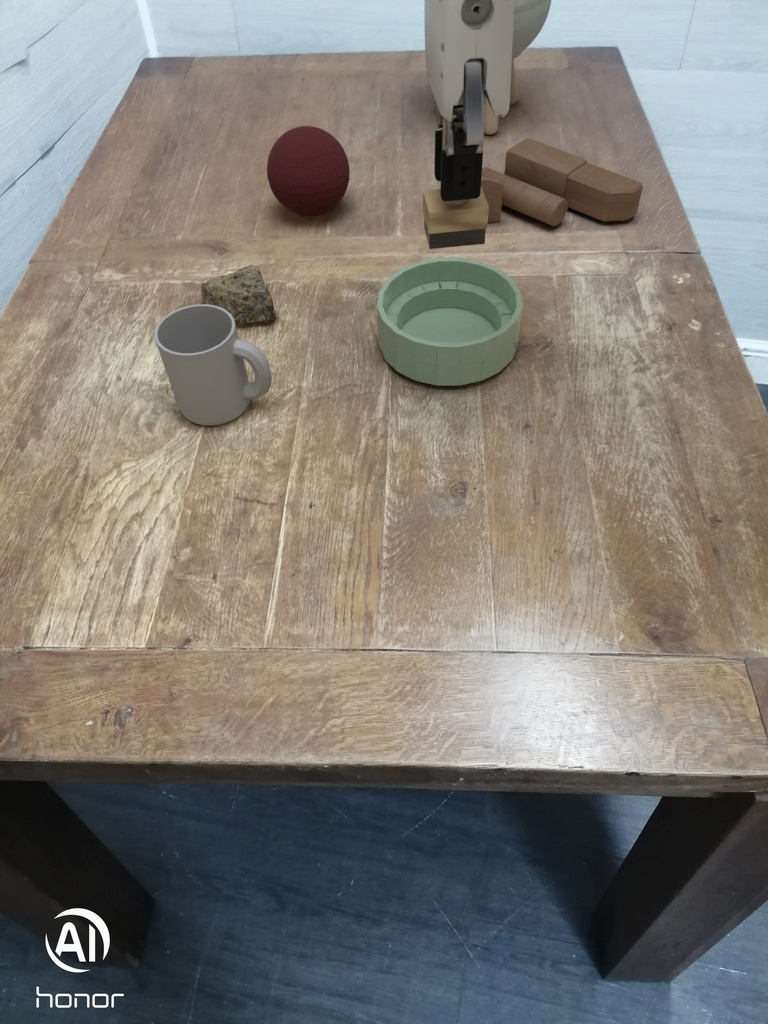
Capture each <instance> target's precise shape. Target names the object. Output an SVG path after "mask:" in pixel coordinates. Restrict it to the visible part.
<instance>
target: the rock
mask: <svg viewBox="0 0 768 1024" xmlns="http://www.w3.org/2000/svg"><path fill="white" fill-rule="evenodd" d="M259 268H260V267H259V266H257V265H252V264H250V265H247V266H245V267H243V268H239V269H237V270H235V271H233V272H231V273H228V274H224V275H220V276H218V277H214V278H209V279H208V280H207V281H205V282H201V284H200V290H201V291H200V294H201V297H202V302H203V304H209V305H214V306H218V307H221V308H223V309H225V310H227V311H228V312H229V313H230V314H231V315H232V317H233V318H234V320H235V323H237V324H251V323H252V324H258V323H262V322H264V323H265V324H271V322H272V321H274V320H276V319H277V315H276V313H275V306H274V301H273V297H272V295H271V292H270V291H269V289H268V286H267V285H266V284H265V281H264V278H263V275H262V272H261V271H260V269H259Z"/></svg>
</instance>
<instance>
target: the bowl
mask: <svg viewBox="0 0 768 1024" xmlns="http://www.w3.org/2000/svg"><path fill="white" fill-rule="evenodd" d="M522 294H523V293H522V291H521V290H520V288H519V287H518V285H517V283H516V282H515V280H514V279H513V278H512V277H510V276H509V275H508V274H506V272H504V271H503V270H501V269H499V268H497V267H495V266H492V265H490V264H489V263H485V262H483V261H480V260H475V259H469V258H462V257H435V258H430V259H426V260H421V261H420V260H419V261H417V262H414V263H412V264H410V265H407V266H405V267H402V268H400V269H398V270H397V271H396V272H395V273H394V274H392V275H391V276H390V277H388V278H387V279H386V280H385V282H384V283H383V284H382V286H381V288H380V289H379V291H378V293H377V300H376V314H377V315H376V317H377V334H378V347H379V349H380V352H381V354H382V356H383V359H384V360H385V361H386V363H388V364H389V365H390V366H391V367H392V368H393V369H394V370H395V371H396V372H397V373H399V374H401V375H403V376H405V377H407V378H409V379H411V380H413V381H415V382H420V383H424V384H429V385H433V386H439V387H441V386H446V387H447V386H448V387H449V386H450V387H451V386H452V387H455V386H457V387H459V386H463V385H468V384H474V383H478V382H481V381H482V382H483V381H484V380H486V379H489V378H490V377H492V376H494V375H496V374H499V373H500V372H502V370H503V369H505V367H506V366H507V365H508V364H510V362H512V361H513V359H514V357H515V354H516V352H517V349H518V347H519V340H520V332H521V324H522V316H523V315H522V314H523V309H524V307H523V306H524V305H523V296H522Z"/></svg>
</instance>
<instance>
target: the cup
mask: <svg viewBox="0 0 768 1024" xmlns="http://www.w3.org/2000/svg"><path fill="white" fill-rule="evenodd" d="M154 340H155V344H156V347H157V349H158V353H159V355H160V359H161V362H162V364H163V368H164V370H165V373H166V376H167V378H168V382H169V385H170V387H171V391H172V394H173V396H174V399H175V403H176V404H177V407H178V409H179V411H180V413H181V415H182V416H183V417H184V418H185V419H187V420H188V421H190V422H192V423H194V424H196V425H199V426H204V427H215V426H220V425H225V424H227V423H231V422H232V421H234V420H236V419H237V418H239V417H240V416H241V415H242V414H243V413H244V412H245V411H246V409H247V408H248V406H249V404H250V403H251V400H257V399H260V398H261V397H263V396H264V395H266V394H267V393H268V392H269V391H270V389H271V387H272V379H273V378H272V377H273V376H272V372H271V367H270V362H269V360H268V358H267V356H266V355H265V353H264V352H263V351H262V349H261V348H260V347H258V346H257V345H256V344H255V343H253V342H251V341H248V340H246V339H241V338H239V334H238V329H237V325H236V321H235V320H234V318H233V317H232V315H231V314H230V313H229V312H228V311H227V310H225V309H223V308H221V307H218V306H214V305H209V304H204V303H203V304H202V303H199V304H190V305H186V306H183V307H180V308H177V309H175V310H173V311H171V312H170V313H168V314H166V315H165V316H164V317H163V318H162V319H161V320H160V321H159V322H158V324H157V325H156V327H155V330H154ZM245 361H247V362H248V364H249V365H250V367H251V369H252V371H253V374H254V381H250V380H249V377H248V373H247V368H246V363H245Z"/></svg>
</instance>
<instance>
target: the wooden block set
mask: <svg viewBox="0 0 768 1024" xmlns="http://www.w3.org/2000/svg"><path fill="white" fill-rule="evenodd" d="M504 162H505V164H504V172H502V173H501V172H500V171H497V170H494V169H493V168H491V167H487V166H485V167H482V177H481V187H482V190H483V193H484V195H485V198H486V201H487V204H488V206H489V211H488V224H492V223H500V222H501V217H502V206H505V207H507V208H509V209H511V210H514V211H516V212H519V213H521V214H523V215H526V216H528V217H530V218H533V219H535V220H538V221H539V222H542V223H545V224H547V225H549V226H552V227H557V226H558V225H560V224H561V223H562V221H563V220H564V219H565V217H566V215H567V211H568V208H569V209H571V210H574V211H577V212H578V213H579V212H580V213H581V214H584V215H586V216H589V217H590V218H591V217H592V218H593V219H596V220H598V221H601V222H604V223H605V222H606V223H607V222H626V221H628V220H629V219H631V218H632V217H634V216H635V215H636V214H637V213H638V209H639V206H640V201H641V198H642V197H641V196H642V193H643V188H644V185H643V183H642V182H641V181H638V180H635V179H633V178H630V177H628V176H625V175H622V174H620V173H617V172H614V171H612V170H608V169H605V168H603V167H600V166H598V165H595V164H593V163H589V162H588V160H587V159H586V158H583V157H581V156H579V155H576V154H573V153H570V152H567V151H565V150H562V149H560V148H556V147H554V146H551V145H548V144H545V143H543V142H540V141H538V140H535V139H533V138H529V137H528V138H525V139H523V140H522V141H520V142H518V143H517V144H515V145H513V146H512V147H510V148H508V149H507V150H506V152H505V161H504Z"/></svg>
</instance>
